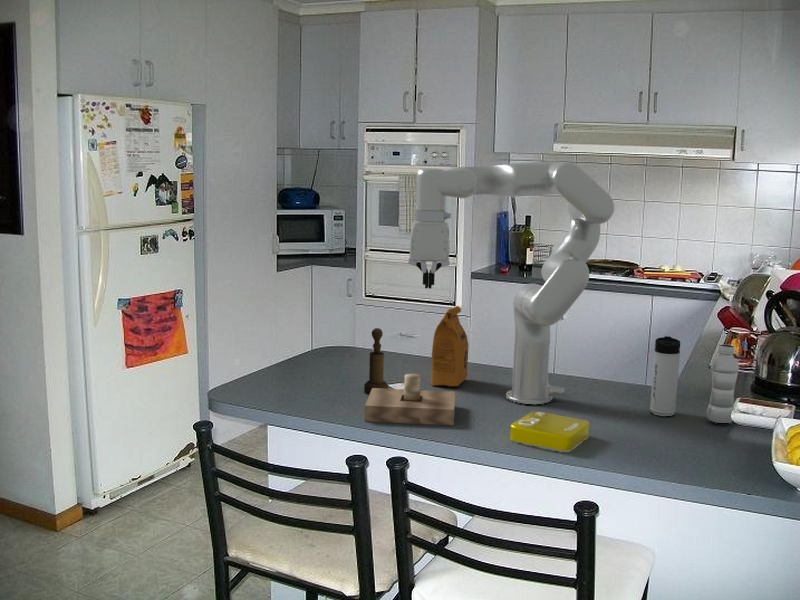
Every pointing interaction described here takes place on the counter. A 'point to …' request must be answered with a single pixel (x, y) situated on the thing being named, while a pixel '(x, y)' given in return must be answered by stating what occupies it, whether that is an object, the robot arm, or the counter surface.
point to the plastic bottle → (723, 385)
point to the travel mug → (665, 375)
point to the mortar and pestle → (376, 365)
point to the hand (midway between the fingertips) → (428, 287)
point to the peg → (412, 387)
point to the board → (410, 407)
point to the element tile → (549, 430)
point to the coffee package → (449, 351)
